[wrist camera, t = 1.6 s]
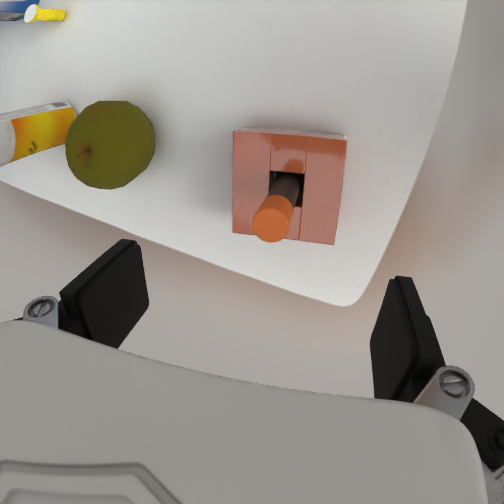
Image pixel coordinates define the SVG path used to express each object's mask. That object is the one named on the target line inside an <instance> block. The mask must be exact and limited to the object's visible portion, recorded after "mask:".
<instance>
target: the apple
mask: <svg viewBox="0 0 504 504" xmlns="http://www.w3.org/2000/svg"><path fill="white" fill-rule="evenodd" d="M65 147H66V157H67V162H68V166H69V167H70V169H71V171H72V173H73V174H74V176H75V177H76V178H77V179H78V180H80V181H81V182H83V183H84V184H86V185H87V186H90V187H94V188H98V189H110V190H111V189H115V188H119V187H123V186H125V185H126V184H128V183H129V182H130V181H132V180H133V179H134V178H136V177H137V176H138V175H139V174H141V173H142V172H143V171H144V170H145V169H147V167H148V165H149V163H150V161H151V159H152V157H153V155H154V149H155V134H154V130H153V127H152V123H151V122H150V120H149V119H148V118H147V116H146V115H145V114H144V112H143V111H142V110H141V109H140V108H139V107H137V106H135V105H133V104H131V103H129V102H127V101H98V102H96V103H94V104H92V105H90V106H88V107H86V108H85V109H84V110H83V111H82V112H81V113H80V114H79V115H78V116H77V117H76V119H75V120H74V121H73V122H72V124H71V125H70V127H69V129H68V133H67V136H66V139H65Z"/></svg>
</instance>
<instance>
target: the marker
mask: <svg viewBox="0 0 504 504" xmlns="http://www.w3.org/2000/svg"><path fill="white" fill-rule="evenodd" d="M302 178H303V176H302V173H292V172H281V173H280V175H279V176H278V178H277V180H276V181H275V183H274V185H273V186H272V188H271V190H270V191H269V193H268V195H267V196H266V198H265V199H264V200H263V202H262V203H261V205H260V207H259V208H258V210H257V212H256V213H255V215H254V217H253V220H252V228H253V231H254V233H255V234H256V235H257V236H258V237H259V238H260V239H261V240H263V241H266V242H277V241H280V240H282V239H283V238H284V237H285V236H286V235H287V233H288V231H289V227H290V224H291V220H292V217H293V211H294V207H295V204H296V200H297V196H298V193H299V189H300V186H301V182H302Z"/></svg>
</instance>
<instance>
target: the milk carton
mask: <svg viewBox="0 0 504 504" xmlns="http://www.w3.org/2000/svg"><path fill="white" fill-rule="evenodd" d="M39 1H40V0H0V21H17V20H19V19H22V18H24V15H25V12H26V10H27V9H28V7H29V6H31V5H33V4H35V5H39Z"/></svg>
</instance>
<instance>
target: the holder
mask: <svg viewBox="0 0 504 504" xmlns="http://www.w3.org/2000/svg"><path fill="white" fill-rule="evenodd" d="M346 145H347V140H346V139H345V137H344V135H339V134H331V133H322V132H313V131H302V130H290V129H277V128H260V127H245V128H242V129H239V130H236V131H233V230H232V232H233V233H239V234H248V235H256V234H255V233H254V231H253V228H252V220H253V217H254V215H255V213H256V212H257V210H258V208H259V207H260V205H261V203H262V202H263V200H264V199H265V198H266V196H267V195H268V193H269V191H270V190H271V188H272V186H273V185H274V183H275V181H276V177H277V171H281V172H292V173H302V174H305V177H304V189H303V192H299V193H298V196H297V200H296V204H295V207H294V211H293V217H292V220H291V224H290V227H289V231H288V233H287V235H286V236H285V237H284V238H283V239H291V240H299V241H306V242H314V243H322V244H330V245H334V242H335V235H336V228H337V221H338V214H339V207H340V199H341V191H342V183H343V174H344V165H345V156H346ZM256 236H257V235H256Z"/></svg>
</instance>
